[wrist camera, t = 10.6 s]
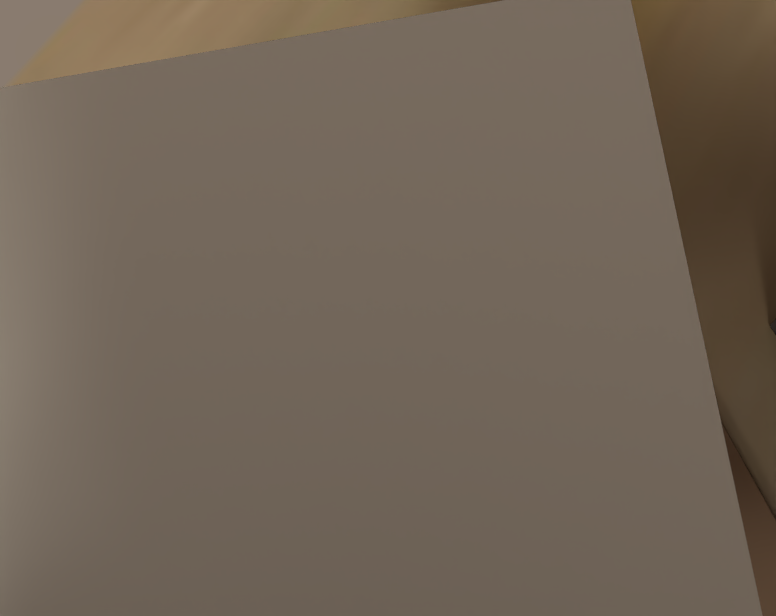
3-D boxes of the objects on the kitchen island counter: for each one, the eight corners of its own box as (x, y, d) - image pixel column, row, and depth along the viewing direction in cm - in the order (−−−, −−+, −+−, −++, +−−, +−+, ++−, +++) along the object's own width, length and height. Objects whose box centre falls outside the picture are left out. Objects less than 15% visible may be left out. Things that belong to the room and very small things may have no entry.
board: (885, 758, 14) (917, 775, 13) (309, 953, 14) (292, 985, 13) (576, 188, 20) (579, 166, 19) (178, 346, 20) (158, 334, 19)
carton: (580, 621, 15) (828, 909, 3) (360, 625, 15) (-203, 859, 4) (551, 389, 16) (619, -49, 5) (357, 404, 17) (-17, 66, 5)
